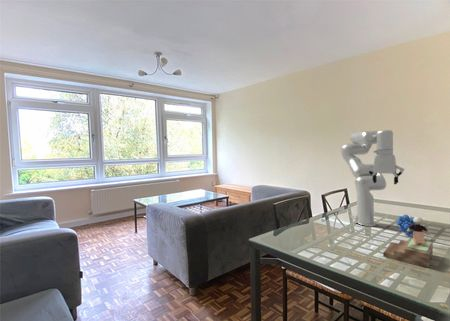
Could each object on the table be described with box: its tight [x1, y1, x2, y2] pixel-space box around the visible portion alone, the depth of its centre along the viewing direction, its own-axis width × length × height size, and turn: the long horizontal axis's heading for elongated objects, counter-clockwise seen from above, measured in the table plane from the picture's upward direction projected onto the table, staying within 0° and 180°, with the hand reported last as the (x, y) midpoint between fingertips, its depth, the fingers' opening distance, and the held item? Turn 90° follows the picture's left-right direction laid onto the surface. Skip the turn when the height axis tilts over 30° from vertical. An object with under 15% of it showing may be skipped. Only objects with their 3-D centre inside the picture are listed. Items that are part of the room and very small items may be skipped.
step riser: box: [383, 237, 434, 269], centre depth 110 cm, size 16×16×6 cm
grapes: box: [395, 214, 415, 237], centre depth 132 cm, size 12×7×12 cm, turn 37°
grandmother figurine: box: [407, 216, 430, 246], centre depth 107 cm, size 8×4×13 cm, turn 65°
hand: (385, 183), depth 132 cm, fingers open, 9 cm apart
